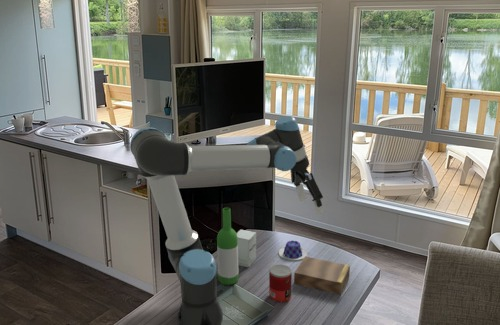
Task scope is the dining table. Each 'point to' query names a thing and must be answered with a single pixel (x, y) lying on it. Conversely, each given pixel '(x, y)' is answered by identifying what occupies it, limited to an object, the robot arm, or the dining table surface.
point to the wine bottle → (227, 251)
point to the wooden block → (322, 275)
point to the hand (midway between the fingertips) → (311, 205)
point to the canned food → (280, 283)
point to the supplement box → (246, 247)
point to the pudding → (293, 251)
